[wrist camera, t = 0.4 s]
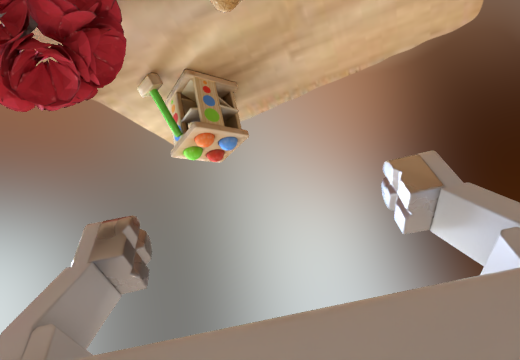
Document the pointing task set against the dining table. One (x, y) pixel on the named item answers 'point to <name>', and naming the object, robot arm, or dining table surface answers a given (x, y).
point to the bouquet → (58, 51)
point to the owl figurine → (225, 4)
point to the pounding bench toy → (199, 115)
